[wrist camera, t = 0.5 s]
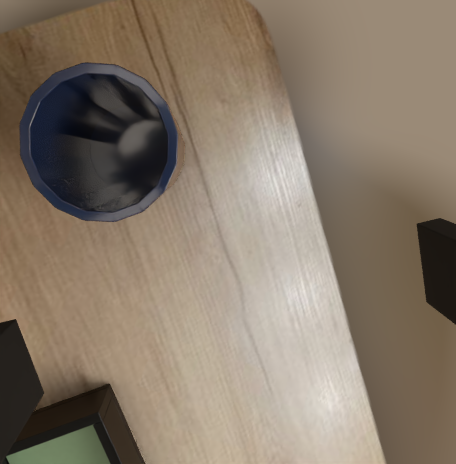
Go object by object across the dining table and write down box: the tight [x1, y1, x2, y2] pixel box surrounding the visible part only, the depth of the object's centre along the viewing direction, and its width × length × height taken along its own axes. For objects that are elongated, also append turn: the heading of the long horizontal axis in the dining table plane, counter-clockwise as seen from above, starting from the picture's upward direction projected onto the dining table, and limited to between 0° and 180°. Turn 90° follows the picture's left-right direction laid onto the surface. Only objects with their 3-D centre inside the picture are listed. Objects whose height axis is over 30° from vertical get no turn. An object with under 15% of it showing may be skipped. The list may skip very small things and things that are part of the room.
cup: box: [20, 62, 185, 222], centre depth 26 cm, size 7×7×12 cm
